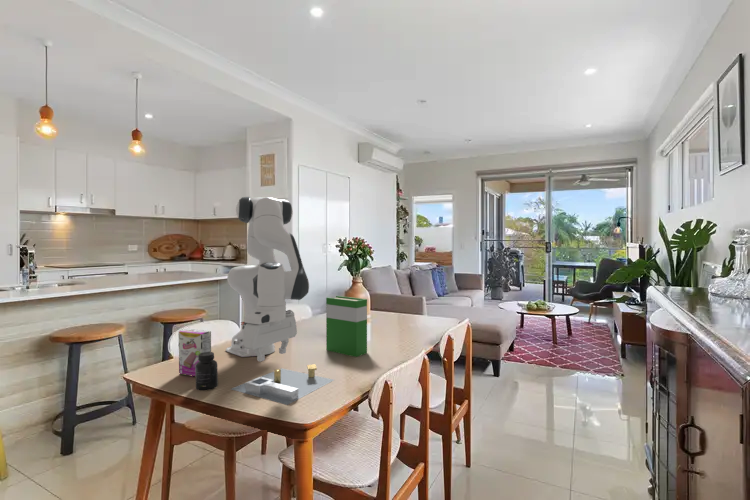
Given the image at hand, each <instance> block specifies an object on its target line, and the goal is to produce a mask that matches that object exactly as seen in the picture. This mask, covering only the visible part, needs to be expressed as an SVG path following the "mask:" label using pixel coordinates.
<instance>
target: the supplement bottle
mask: <svg viewBox="0 0 750 500" xmlns="http://www.w3.org/2000/svg"><path fill="white" fill-rule="evenodd" d="M198 361H199V362H198V363H197V364H196V366H195V374H196V377H195V390H197V391H200V392H201V391H203V392H204V391H210V390H214V389H216V388H217V387H218V386H219V379H218V376H219V375H218V361H217V360H216V359H215V353H214V352H213V351H211V352H204V353H200V354H199V355H198Z"/></svg>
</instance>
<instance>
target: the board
mask: <svg viewBox="0 0 750 500" xmlns="http://www.w3.org/2000/svg"><path fill="white" fill-rule="evenodd" d="M280 369H281V383H279V384H282V385H286V386H290V387H294V388H298V399H296V400H294V401H288V400H284V399H281V398H277V397H273V396H270V395H266V394H262V395H260V396H259V395H255V394H251V393H248V392H246V391H245V383H246V382H244V383H242V384H239V385H237V386H234V387H231V388H230V390H231V391H234V392H235V391H236V392H239V393H243V394H247V395H250V396H254V397H258V398H261V399H264V400H267V401H272V402H275V403H278V404H282V405H285V406H288V405H290V404H292V403H294V402H296V401H298V400H300V399H302V398H303V397H305V396H307V395H309V394H311V393H313V392H315V391H317V390H319V389H320V388H322V387H324V386H326V385H328V384H330V383H332V382H333V381H335V379H332V378H327V377H325V376H323V377H322V376H318V375H315V377H313V378H310V377H308V373H305V372H301V371H300V372H299V371H296V370H291V369H287V368H282V367H281V368H280ZM260 377H264V378H268V379H272V380H274V370H273V371H271V372H268V373H267V374H264V375H262V376H260Z"/></svg>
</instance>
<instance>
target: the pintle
mask: <svg viewBox="0 0 750 500" xmlns="http://www.w3.org/2000/svg"><path fill="white" fill-rule="evenodd" d="M273 371H274V383H278V384H279V383H281V368H275V369H274V370H273Z"/></svg>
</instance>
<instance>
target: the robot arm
mask: <svg viewBox="0 0 750 500" xmlns="http://www.w3.org/2000/svg"><path fill="white" fill-rule="evenodd" d="M235 212H236V215H237V219H238V220H239V221H240V222H241V223H242V222H243V223H246V224H248V230H247V241H246V243H247V244H246V250H247V254H248V255H249V256H251V257H252V258H253V259H256V260H258V261H259V263H258V264H253V265H252V264H250V265H249V264H248V265H247V264H246V265H245V264H244V265H243V264H242V265H239V266H235V267H232V268H231V269H230V270H229V272H228V273H227V284H228V285H229V287H230V288H231V289H232V290H233V291H235V292H236V293H237V294H238V295H239V296H240V297H241V299H242V301H243V304H244V317H243V319H244V321H241V322H240V323H241V324H240V325H241V326H242V329H240V330H239V331H238V332H237V333H236V334H235V335H233V337H232V339H231V345H230V346H228V347H226V348H225V352H227V353H230V354H232V355H235V356H238V357H240V358H246V357H256V360H257V362H263V361H265V359H266V356H265V355H269V354H272V353H274V352H275V351H276V348H275V347H276V346H275V344H276V343H281V344H280V347H279V348H278V353H279V354H281V355H284V354H286V353H287V347H288V345H289V340H290V339H292V338H295V337H296V336H297V333H298V332H297V331H298V330H297V322H296V317H295V312H294V311H293V310H292V309H287V307H286V306H287V303H286V302H287V301H286V300H294V301H295V300H296V301H301V300H302V299H303V298H305V297H306V296H307V295H308V293H309V291H310V282H309V278H308V276H307V275H308V274H307V273H306V270H305V267H304V265H303V261H302V258H301V254H300V250H299V247H298V245H297V241H296V239H295V237H294V235H293V234H292V233H290V232H289V231H288V230H287V229H286V227H285V225H288V224H289V223H290V222H291V220H292V217H293V214H294V212H293V207H292V203H291V202H290V201H289V200H287V199H278V198H275V197H267V196H265V197H262V196H261V197H258V196H257V197H256V196H254V197H251V196H243V197H240V199H239V200H238V202H237V204H236V208H235ZM274 250H277V251H278V252H279V251H280V252H281V253H284V254H285V255H286V257H287V259H288V262H289V263H288V264H289V267H290V270H286V269H285V268H284V265H283V264H282V263H280V262H278V261H277V259H276V257H275V254H274V253H275V252H274Z"/></svg>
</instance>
